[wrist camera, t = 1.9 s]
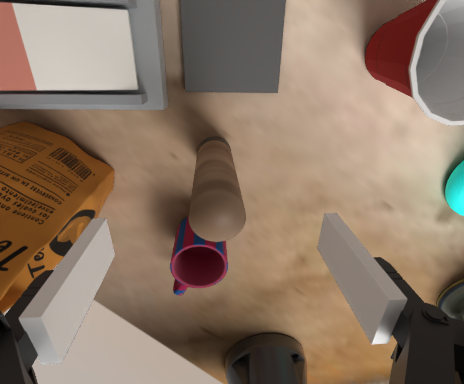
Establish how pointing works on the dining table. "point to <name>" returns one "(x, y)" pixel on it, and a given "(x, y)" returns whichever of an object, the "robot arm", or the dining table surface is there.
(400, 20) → the plastic cup
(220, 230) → the wooden pestle
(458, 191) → the donuts
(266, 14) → the mat
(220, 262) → the cup
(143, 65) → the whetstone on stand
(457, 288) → the apothecary jar
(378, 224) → the dining table surface
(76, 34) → the rocker
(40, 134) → the coffee package
